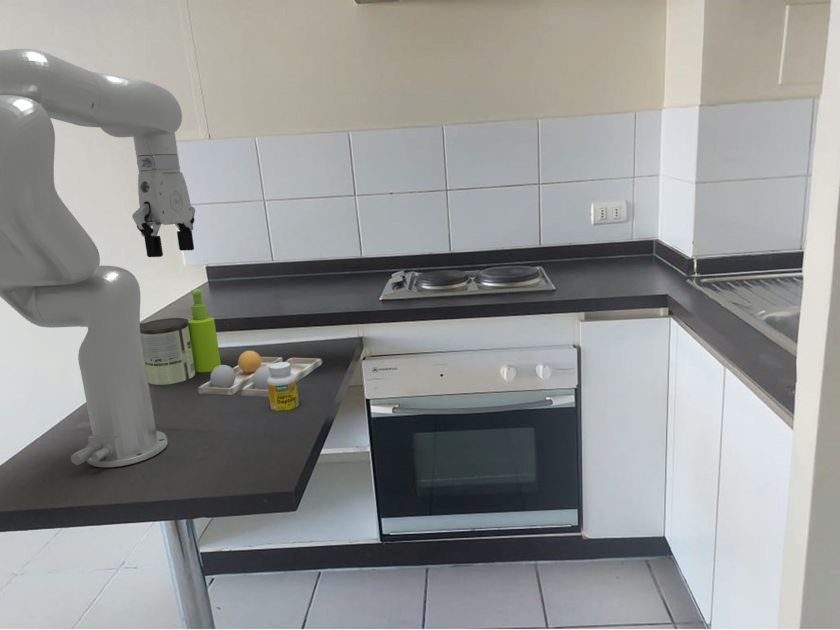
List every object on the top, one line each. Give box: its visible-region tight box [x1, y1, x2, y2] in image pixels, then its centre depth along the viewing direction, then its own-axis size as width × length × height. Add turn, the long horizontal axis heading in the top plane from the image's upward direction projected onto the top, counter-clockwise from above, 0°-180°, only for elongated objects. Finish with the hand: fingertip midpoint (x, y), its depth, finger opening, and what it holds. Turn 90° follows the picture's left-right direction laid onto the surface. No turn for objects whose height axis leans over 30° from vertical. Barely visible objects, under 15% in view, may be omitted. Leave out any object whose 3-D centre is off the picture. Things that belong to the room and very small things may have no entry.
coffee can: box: [140, 317, 196, 385], centre depth 138 cm, size 10×10×14 cm
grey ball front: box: [253, 366, 271, 390], centre depth 126 cm, size 5×5×5 cm
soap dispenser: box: [188, 288, 222, 373], centre depth 143 cm, size 6×7×20 cm
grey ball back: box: [210, 364, 235, 388], centre depth 129 cm, size 5×5×5 cm
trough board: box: [197, 356, 323, 398], centre depth 135 cm, size 24×19×3 cm
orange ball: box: [237, 350, 261, 373], centre depth 139 cm, size 5×5×5 cm
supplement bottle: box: [267, 361, 300, 412], centre depth 117 cm, size 5×5×10 cm
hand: (171, 253), depth 124 cm, fingers open, 9 cm apart
